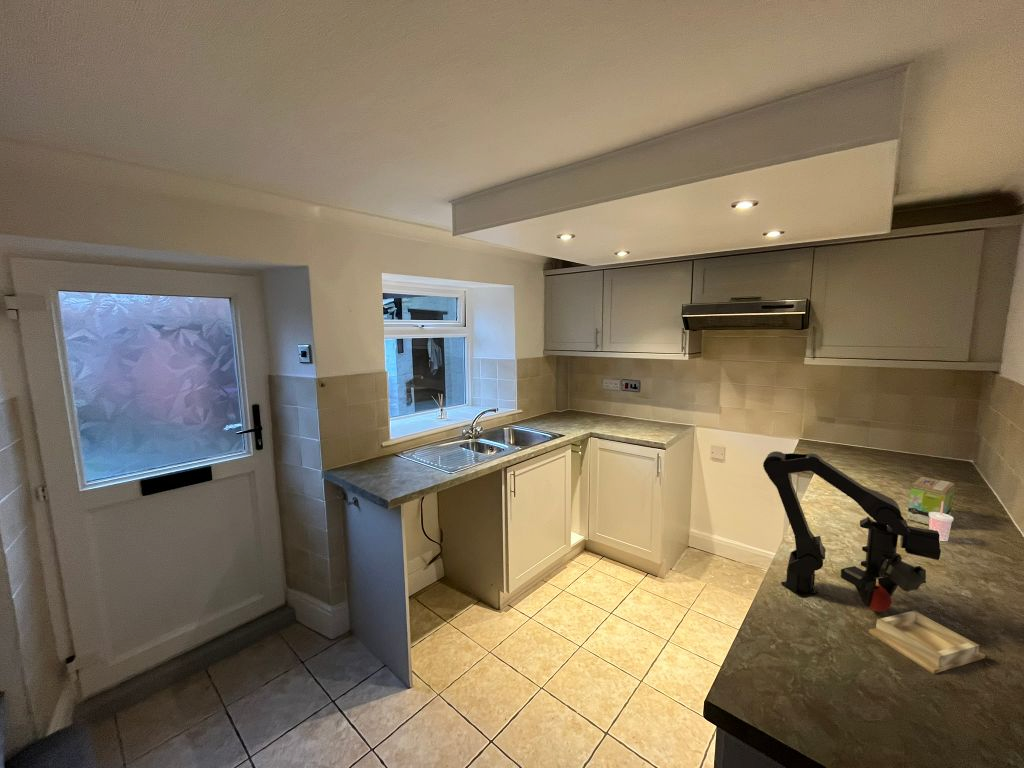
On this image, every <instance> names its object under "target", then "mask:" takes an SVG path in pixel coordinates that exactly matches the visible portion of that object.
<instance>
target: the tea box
mask: <svg viewBox="0 0 1024 768" xmlns="http://www.w3.org/2000/svg"><path fill="white" fill-rule="evenodd" d="M955 487H956V483H954V482H951V481H946V480H941V479H938V478H937V479H936V478H931V477H927V476H922V475H921V476H920V477H918V478H917V479H916V480H915V481H913V482H912V483H911V487H910V494H909V502H908V506H907V507H908V508H907V513H906V519H907V518H910V519H914V520H917V521H921V522H926V523H929V519H930V516H929V512H939V513H940V511H941V503H942V501H943V502H944V503H943V511H942V513H944V514H947V515H950V516H952V515H951V514H952V510H953V509H952V507H953V501H954V496H955V495H954V493H955Z"/></svg>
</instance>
